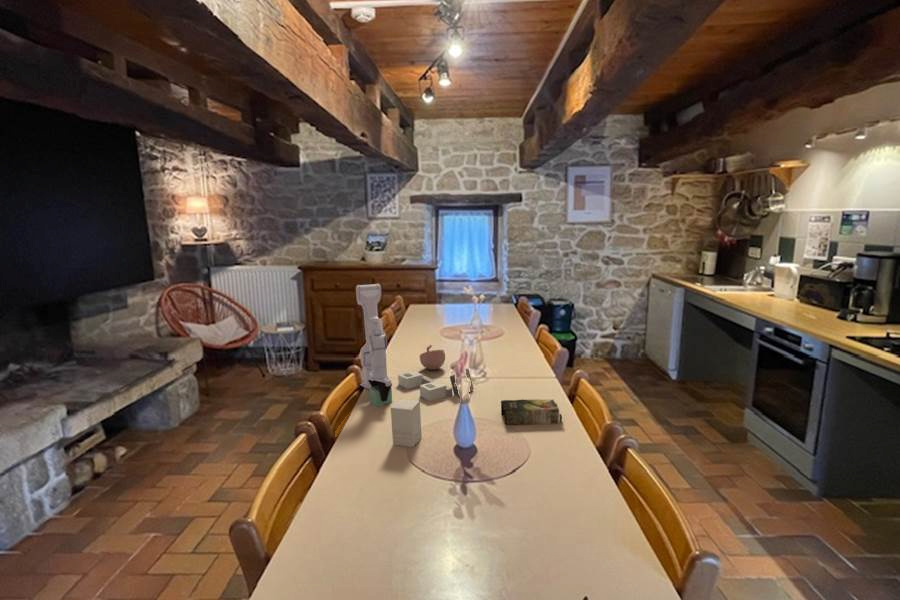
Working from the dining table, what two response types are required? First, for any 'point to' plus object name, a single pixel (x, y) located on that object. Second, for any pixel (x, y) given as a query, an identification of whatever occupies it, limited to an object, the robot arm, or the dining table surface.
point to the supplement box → (406, 422)
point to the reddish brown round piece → (432, 358)
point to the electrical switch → (455, 384)
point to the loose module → (378, 396)
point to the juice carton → (530, 411)
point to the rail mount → (424, 385)
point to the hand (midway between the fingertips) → (380, 398)
